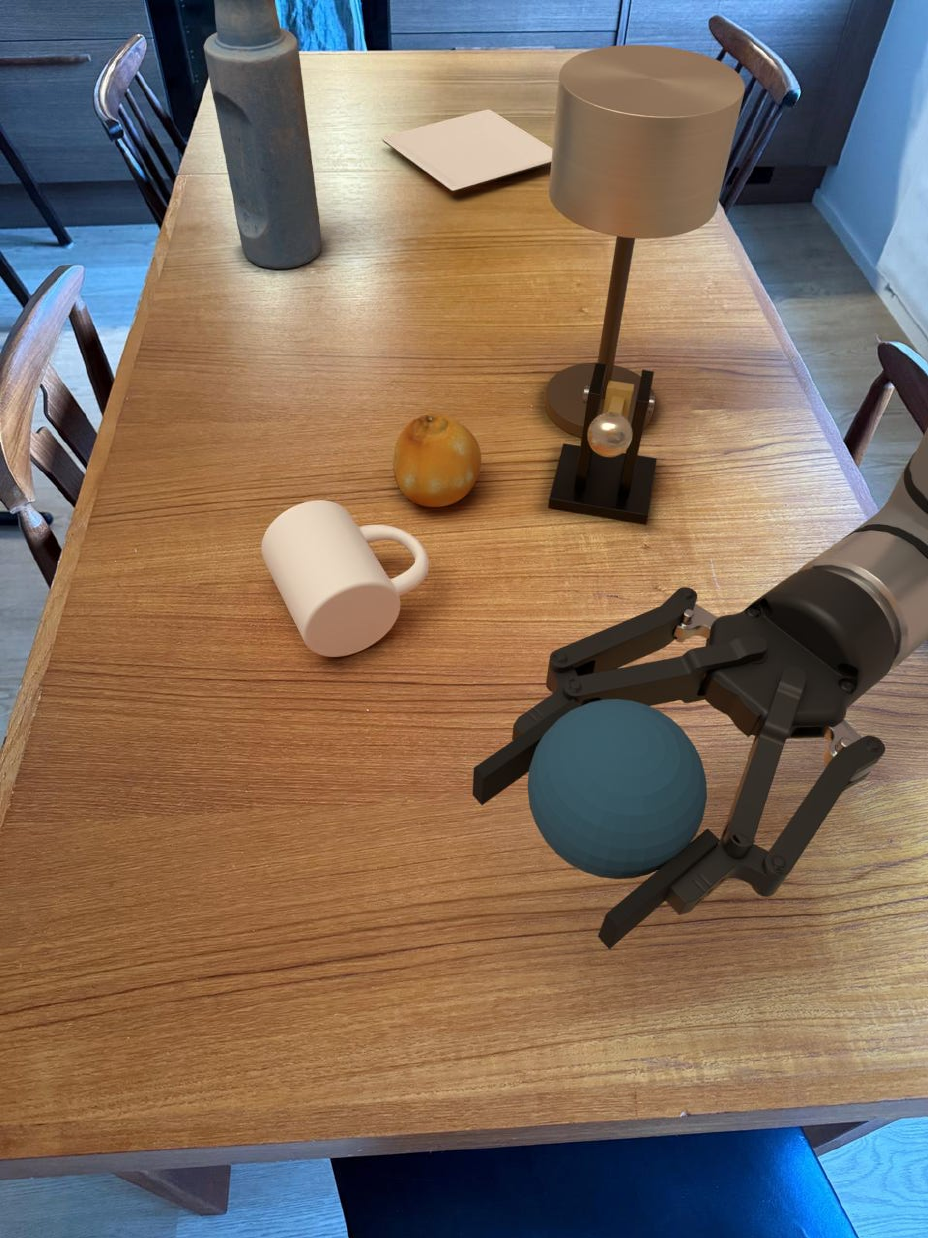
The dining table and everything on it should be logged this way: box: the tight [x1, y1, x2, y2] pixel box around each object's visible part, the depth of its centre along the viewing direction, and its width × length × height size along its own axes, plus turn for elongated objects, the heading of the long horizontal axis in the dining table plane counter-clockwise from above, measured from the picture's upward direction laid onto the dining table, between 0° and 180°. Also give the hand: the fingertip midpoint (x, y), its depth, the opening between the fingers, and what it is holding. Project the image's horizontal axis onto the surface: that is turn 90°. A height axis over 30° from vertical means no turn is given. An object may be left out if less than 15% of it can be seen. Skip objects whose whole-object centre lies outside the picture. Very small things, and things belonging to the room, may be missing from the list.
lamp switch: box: [587, 381, 634, 457], centre depth 70 cm, size 16×3×3 cm, turn 167°
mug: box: [260, 499, 430, 658], centre depth 71 cm, size 12×10×8 cm
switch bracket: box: [547, 362, 658, 526], centre depth 79 cm, size 8×9×12 cm
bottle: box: [203, 0, 323, 270], centre depth 98 cm, size 10×10×30 cm
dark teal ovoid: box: [527, 699, 708, 880], centre depth 44 cm, size 8×8×12 cm
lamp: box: [544, 44, 746, 439], centre depth 80 cm, size 14×14×30 cm
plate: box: [381, 108, 553, 193], centre depth 126 cm, size 19×19×2 cm
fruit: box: [392, 413, 482, 508], centre depth 81 cm, size 8×8×8 cm
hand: (539, 855), depth 42 cm, fingers closed on dark teal ovoid, 8 cm apart
